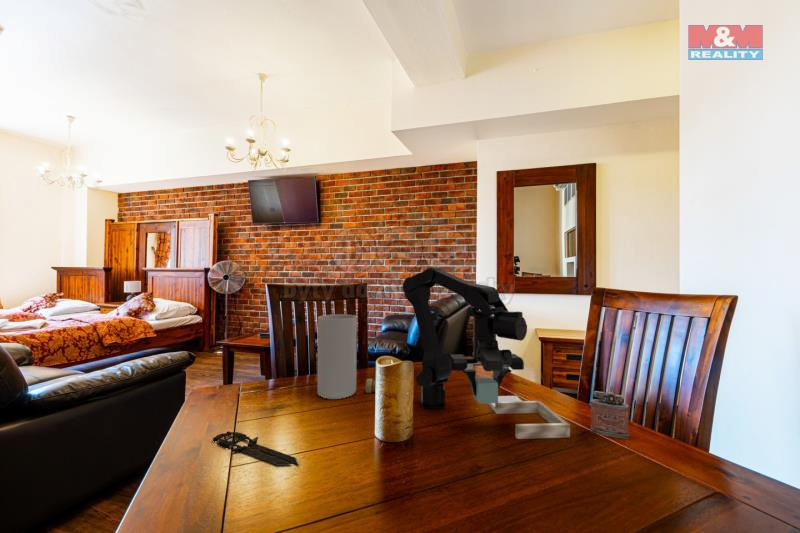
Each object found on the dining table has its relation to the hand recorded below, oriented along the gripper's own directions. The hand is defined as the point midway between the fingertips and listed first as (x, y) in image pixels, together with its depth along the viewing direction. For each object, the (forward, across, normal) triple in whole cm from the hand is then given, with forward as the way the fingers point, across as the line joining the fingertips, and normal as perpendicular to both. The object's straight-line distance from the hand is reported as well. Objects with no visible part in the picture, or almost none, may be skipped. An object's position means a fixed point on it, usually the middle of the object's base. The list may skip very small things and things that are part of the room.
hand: (484, 395), depth 86 cm
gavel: (+8, -26, +34) cm, 43 cm away
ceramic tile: (+8, +10, +13) cm, 18 cm away
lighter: (+8, +29, -6) cm, 31 cm away
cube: (+1, 0, 0) cm, 1 cm away
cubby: (+8, +12, 0) cm, 14 cm away
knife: (+8, -55, -9) cm, 56 cm away
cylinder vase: (+8, -41, +25) cm, 49 cm away
